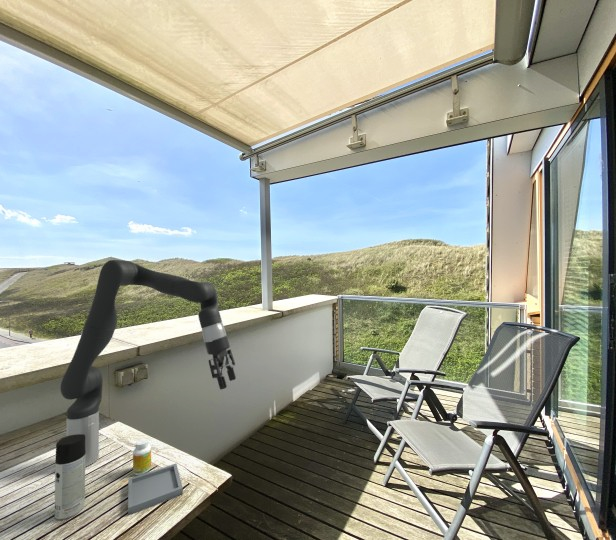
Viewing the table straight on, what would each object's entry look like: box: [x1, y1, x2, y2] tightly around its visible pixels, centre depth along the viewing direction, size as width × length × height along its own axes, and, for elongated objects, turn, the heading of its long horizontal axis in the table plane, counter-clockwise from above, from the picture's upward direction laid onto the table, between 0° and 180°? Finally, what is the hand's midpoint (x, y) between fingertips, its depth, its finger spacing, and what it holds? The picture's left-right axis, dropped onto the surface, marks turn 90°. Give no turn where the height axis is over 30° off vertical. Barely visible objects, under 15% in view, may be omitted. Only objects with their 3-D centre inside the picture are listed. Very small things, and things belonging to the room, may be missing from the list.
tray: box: [127, 463, 184, 516], centre depth 90 cm, size 14×14×2 cm
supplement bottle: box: [132, 437, 152, 476], centre depth 99 cm, size 5×5×10 cm
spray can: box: [53, 434, 86, 521], centre depth 82 cm, size 7×7×20 cm
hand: (228, 384), depth 98 cm, fingers open, 8 cm apart
